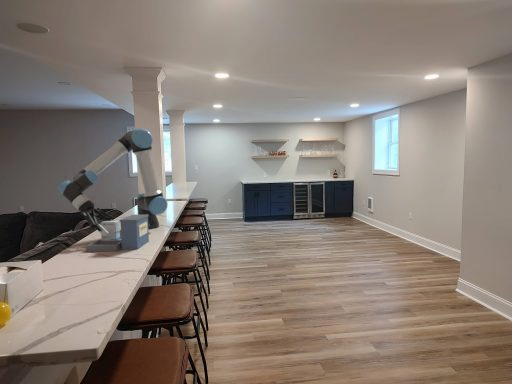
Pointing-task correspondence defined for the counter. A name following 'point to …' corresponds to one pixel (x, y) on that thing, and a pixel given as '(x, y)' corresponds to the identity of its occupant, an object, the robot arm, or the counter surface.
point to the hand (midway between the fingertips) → (112, 231)
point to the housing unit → (134, 231)
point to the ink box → (111, 230)
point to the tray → (105, 245)
